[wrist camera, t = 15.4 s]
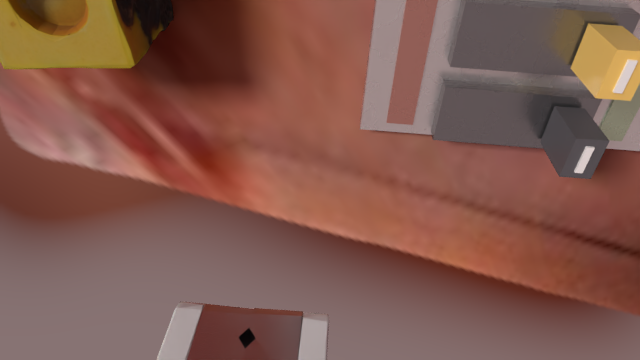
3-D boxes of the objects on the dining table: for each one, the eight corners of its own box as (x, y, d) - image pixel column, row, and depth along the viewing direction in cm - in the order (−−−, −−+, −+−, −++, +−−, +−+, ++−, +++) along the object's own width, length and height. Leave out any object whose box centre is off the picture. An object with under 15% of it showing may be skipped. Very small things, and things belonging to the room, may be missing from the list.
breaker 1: (588, 23, 36) (618, 50, 32) (622, 25, 36) (656, 53, 32) (570, 68, 38) (596, 99, 34) (602, 70, 38) (632, 102, 34)
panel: (390, -126, 34) (393, -122, 31) (764, -99, 33) (795, -93, 31) (360, 120, 46) (360, 137, 44) (633, 142, 46) (648, 160, 43)
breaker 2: (554, 106, 40) (577, 139, 36) (584, 108, 40) (610, 142, 36) (540, 142, 42) (560, 177, 38) (568, 144, 42) (591, 180, 38)
